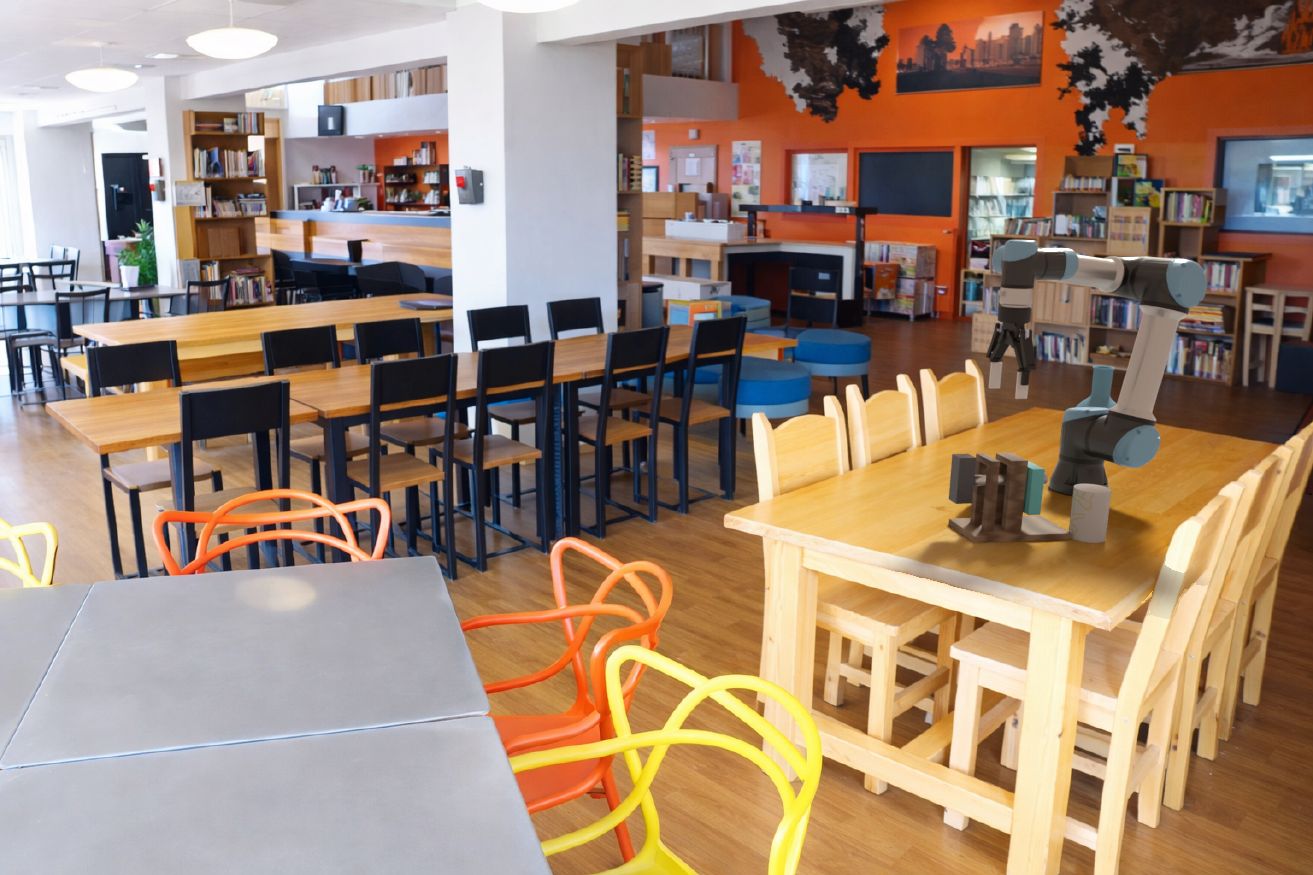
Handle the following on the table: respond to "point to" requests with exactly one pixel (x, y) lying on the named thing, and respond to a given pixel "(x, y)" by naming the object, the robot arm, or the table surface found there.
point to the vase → (1100, 388)
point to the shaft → (968, 478)
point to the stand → (1004, 505)
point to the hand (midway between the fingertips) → (1007, 393)
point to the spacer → (1033, 489)
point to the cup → (1089, 513)
